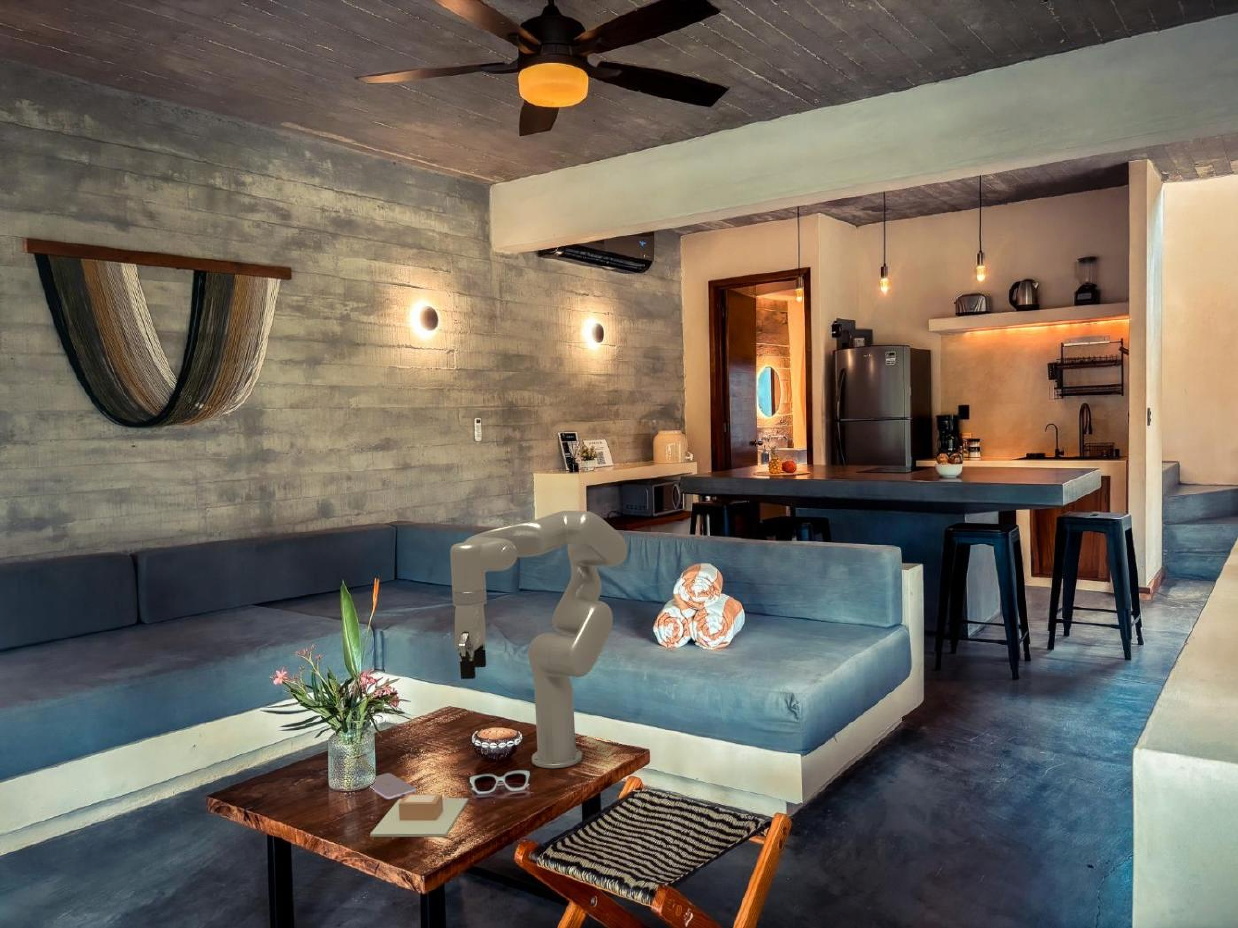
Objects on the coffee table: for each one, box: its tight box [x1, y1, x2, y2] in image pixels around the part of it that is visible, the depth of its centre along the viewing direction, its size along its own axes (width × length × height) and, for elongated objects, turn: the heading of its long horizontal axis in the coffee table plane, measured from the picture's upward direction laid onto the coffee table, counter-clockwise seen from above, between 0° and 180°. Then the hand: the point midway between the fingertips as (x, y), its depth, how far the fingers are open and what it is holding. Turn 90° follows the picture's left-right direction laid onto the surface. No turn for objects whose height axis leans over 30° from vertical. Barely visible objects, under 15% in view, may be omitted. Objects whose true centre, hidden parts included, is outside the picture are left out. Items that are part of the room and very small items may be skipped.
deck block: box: [399, 793, 444, 820], centre depth 199 cm, size 8×5×4 cm, turn 83°
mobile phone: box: [369, 772, 417, 800], centre depth 218 cm, size 8×1×15 cm
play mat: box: [369, 797, 469, 838], centre depth 199 cm, size 18×16×1 cm
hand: (473, 672), depth 209 cm, fingers open, 9 cm apart
